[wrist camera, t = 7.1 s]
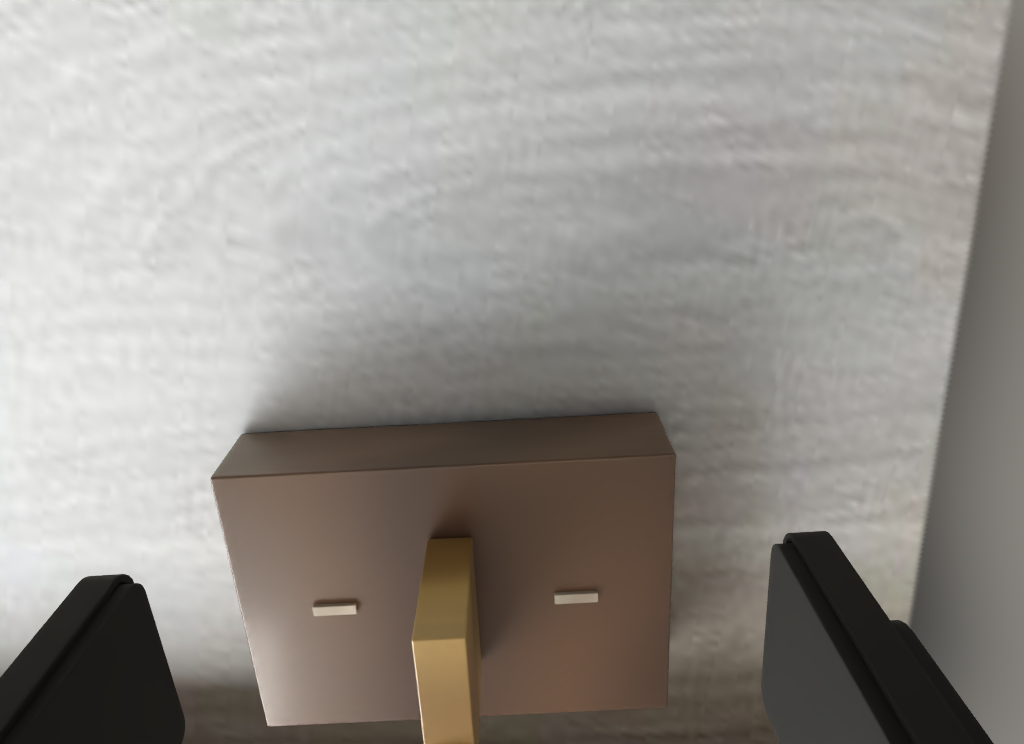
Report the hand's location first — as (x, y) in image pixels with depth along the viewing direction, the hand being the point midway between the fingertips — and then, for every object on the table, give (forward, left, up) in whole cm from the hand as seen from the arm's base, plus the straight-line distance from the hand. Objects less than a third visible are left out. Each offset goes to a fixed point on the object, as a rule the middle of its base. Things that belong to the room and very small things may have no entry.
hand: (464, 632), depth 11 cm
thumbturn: (-5, +7, -11) cm, 14 cm away
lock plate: (-5, +7, -14) cm, 16 cm away
